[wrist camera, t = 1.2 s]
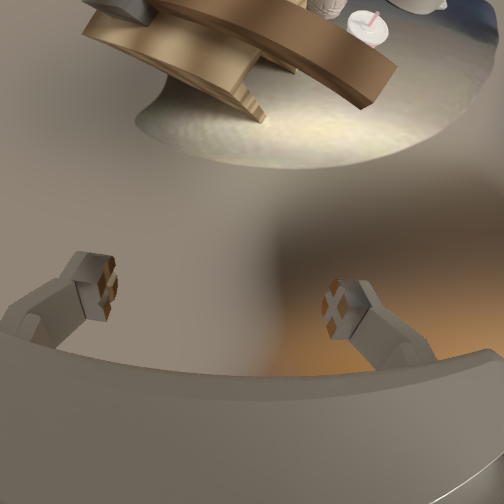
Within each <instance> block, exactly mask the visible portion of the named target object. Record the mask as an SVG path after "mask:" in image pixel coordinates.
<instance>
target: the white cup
mask: <svg viewBox="0 0 504 504" xmlns="http://www.w3.org/2000/svg"><path fill="white" fill-rule="evenodd" d="M347 1H348V0H307V5H306V9H307V10H309V11H311V12H313V13H315V14H317V15H319V16H321V17H322V18H324V19H326V20H327V19H333V18H335V17H337V16H339V14H340V12H341V10H342V9H343V8H344V6H345V4H346V2H347Z"/></svg>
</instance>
